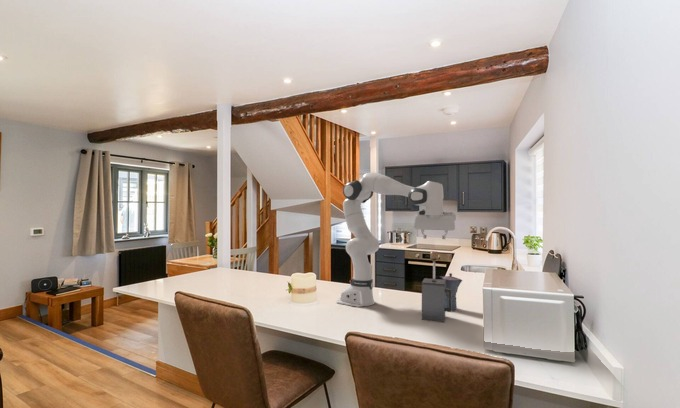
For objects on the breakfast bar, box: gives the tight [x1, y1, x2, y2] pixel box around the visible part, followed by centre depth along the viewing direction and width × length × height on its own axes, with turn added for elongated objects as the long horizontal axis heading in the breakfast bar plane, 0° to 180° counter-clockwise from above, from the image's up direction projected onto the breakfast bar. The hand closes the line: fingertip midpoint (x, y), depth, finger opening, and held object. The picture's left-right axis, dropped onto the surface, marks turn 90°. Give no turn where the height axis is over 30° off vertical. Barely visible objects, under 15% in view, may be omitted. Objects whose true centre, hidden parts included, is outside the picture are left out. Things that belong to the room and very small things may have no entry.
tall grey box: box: [421, 277, 452, 323], centre depth 181 cm, size 14×11×19 cm
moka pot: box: [435, 272, 463, 312], centre depth 198 cm, size 10×15×20 cm, turn 78°
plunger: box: [429, 250, 439, 282], centre depth 181 cm, size 8×8×23 cm
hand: (434, 238), depth 181 cm, fingers open, 8 cm apart
